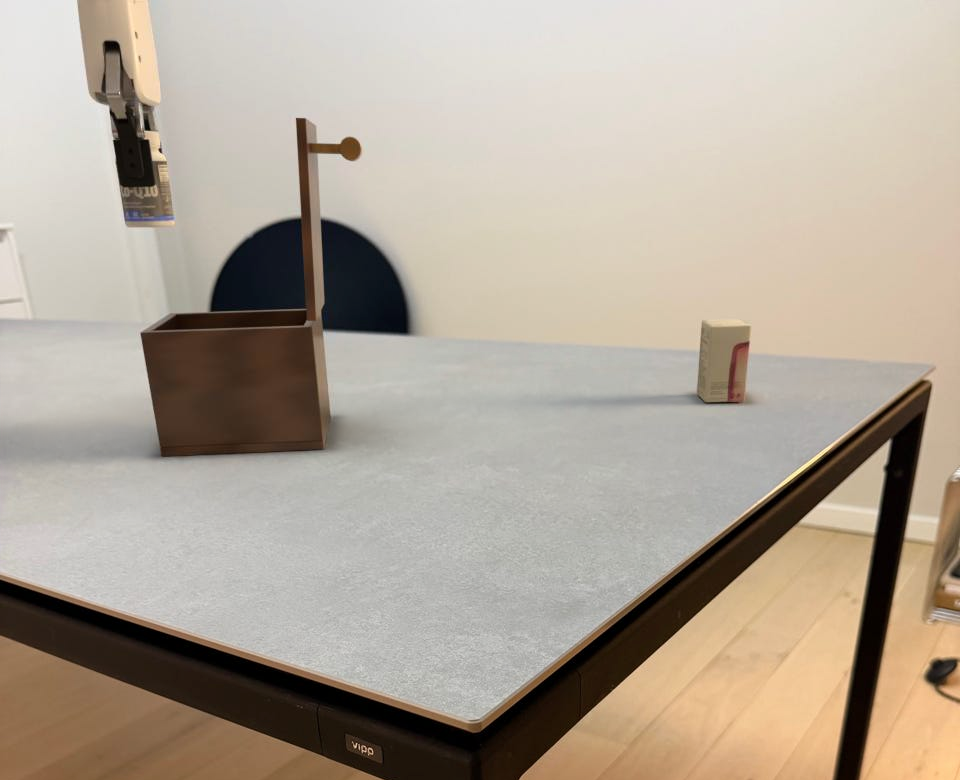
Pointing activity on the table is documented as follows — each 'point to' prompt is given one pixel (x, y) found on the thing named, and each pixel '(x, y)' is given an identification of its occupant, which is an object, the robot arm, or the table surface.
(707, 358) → the small box
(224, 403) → the chest
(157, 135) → the pill bottle
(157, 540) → the table surface
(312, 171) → the lid
